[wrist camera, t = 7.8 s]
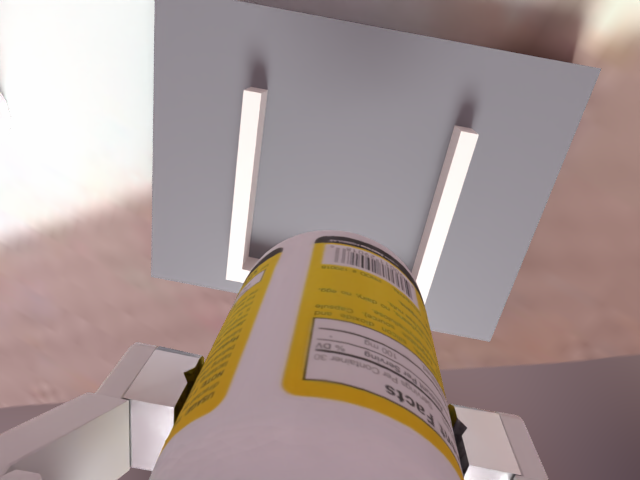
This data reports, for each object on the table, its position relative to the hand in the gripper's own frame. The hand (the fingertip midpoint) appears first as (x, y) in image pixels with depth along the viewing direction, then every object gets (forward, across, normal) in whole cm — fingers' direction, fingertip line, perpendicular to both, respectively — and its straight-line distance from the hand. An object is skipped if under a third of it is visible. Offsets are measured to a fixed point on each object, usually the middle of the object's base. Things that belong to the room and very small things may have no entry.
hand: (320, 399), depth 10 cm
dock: (+17, 0, 0) cm, 17 cm away
